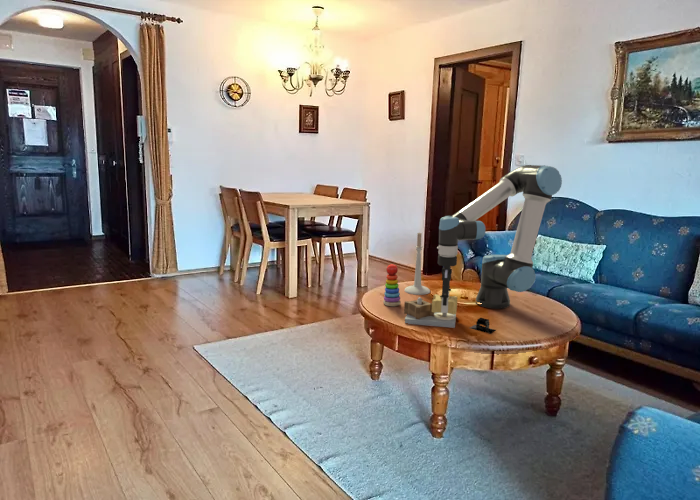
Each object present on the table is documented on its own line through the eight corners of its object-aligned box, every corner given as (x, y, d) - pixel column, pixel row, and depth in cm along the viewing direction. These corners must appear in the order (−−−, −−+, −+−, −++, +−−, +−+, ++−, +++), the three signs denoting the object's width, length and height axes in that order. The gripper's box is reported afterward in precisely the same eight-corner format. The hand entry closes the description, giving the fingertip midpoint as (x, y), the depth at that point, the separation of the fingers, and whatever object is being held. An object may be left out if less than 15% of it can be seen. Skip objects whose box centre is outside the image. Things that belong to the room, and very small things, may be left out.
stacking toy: (400, 302, 233) (401, 262, 229) (400, 307, 225) (401, 266, 221) (383, 301, 233) (384, 262, 230) (383, 306, 226) (383, 266, 222)
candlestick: (410, 286, 259) (412, 229, 253) (433, 290, 253) (436, 231, 247) (400, 292, 249) (402, 232, 243) (424, 296, 242) (427, 235, 236)
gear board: (455, 316, 213) (457, 295, 211) (454, 327, 200) (455, 305, 198) (408, 312, 217) (409, 291, 216) (404, 323, 204) (405, 301, 202)
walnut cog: (420, 309, 216) (421, 298, 215) (435, 315, 208) (436, 304, 207) (402, 313, 211) (402, 301, 210) (417, 319, 203) (417, 308, 202)
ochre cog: (456, 307, 210) (457, 296, 209) (456, 314, 201) (456, 302, 200) (433, 305, 212) (433, 294, 211) (431, 312, 203) (431, 300, 202)
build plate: (464, 329, 200) (464, 318, 199) (472, 324, 206) (473, 313, 205) (493, 336, 192) (493, 325, 191) (501, 331, 198) (502, 320, 197)
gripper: (439, 249, 212) (437, 301, 217) (436, 260, 193) (433, 316, 197) (457, 250, 211) (454, 302, 215) (456, 261, 191) (453, 318, 196)
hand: (444, 309), depth 206 cm, fingers closed on ochre cog, 7 cm apart
